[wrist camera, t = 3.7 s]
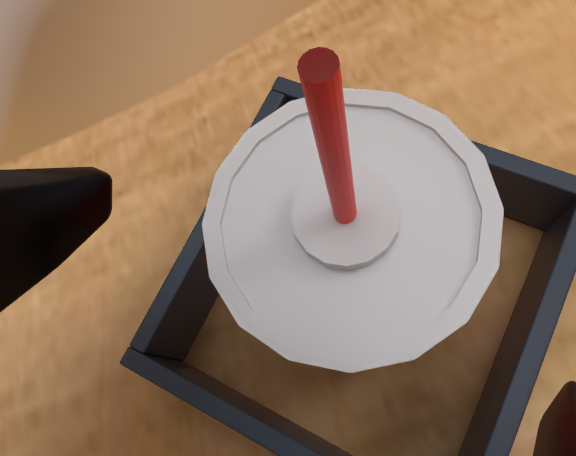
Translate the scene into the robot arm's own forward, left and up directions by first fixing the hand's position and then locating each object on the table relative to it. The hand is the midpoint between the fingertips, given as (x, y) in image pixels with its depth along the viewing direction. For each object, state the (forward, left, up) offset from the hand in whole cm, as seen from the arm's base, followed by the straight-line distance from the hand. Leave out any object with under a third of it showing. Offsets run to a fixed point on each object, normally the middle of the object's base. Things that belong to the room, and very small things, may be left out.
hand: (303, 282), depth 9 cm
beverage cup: (+2, 0, -10) cm, 10 cm away
